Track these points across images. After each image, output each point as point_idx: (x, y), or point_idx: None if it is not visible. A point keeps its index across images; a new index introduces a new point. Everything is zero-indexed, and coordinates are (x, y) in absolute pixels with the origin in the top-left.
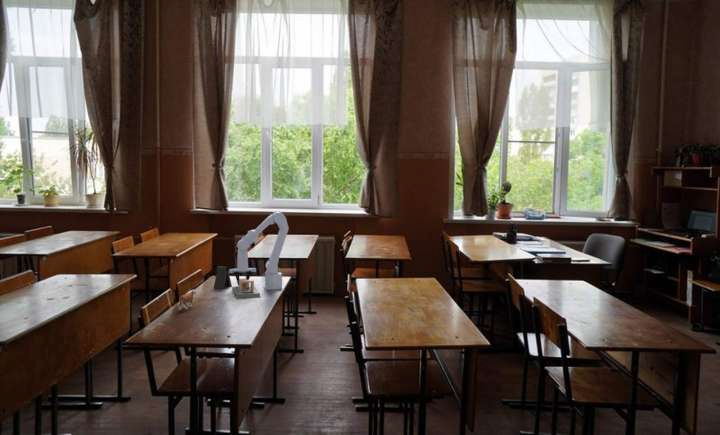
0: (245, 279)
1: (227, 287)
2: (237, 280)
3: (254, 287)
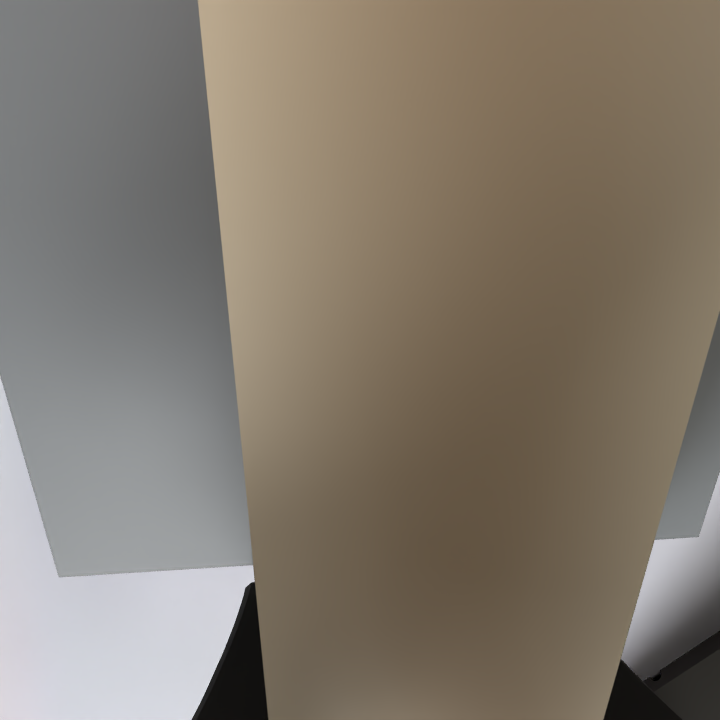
0: (343, 715)
1: (646, 684)
2: (657, 696)
3: (10, 294)
